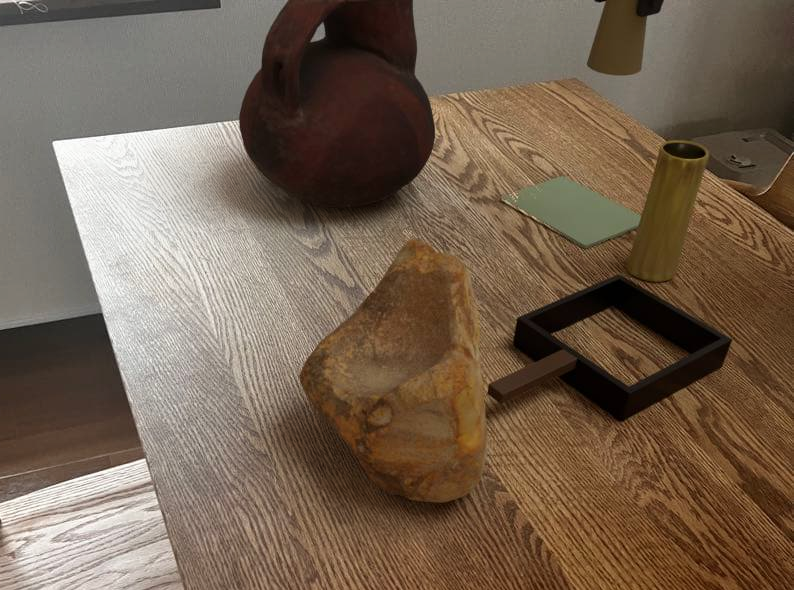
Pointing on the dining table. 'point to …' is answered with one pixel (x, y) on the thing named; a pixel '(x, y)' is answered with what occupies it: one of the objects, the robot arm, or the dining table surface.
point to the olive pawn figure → (618, 39)
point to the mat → (576, 211)
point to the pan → (592, 379)
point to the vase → (667, 211)
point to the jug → (339, 103)
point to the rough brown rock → (408, 379)
